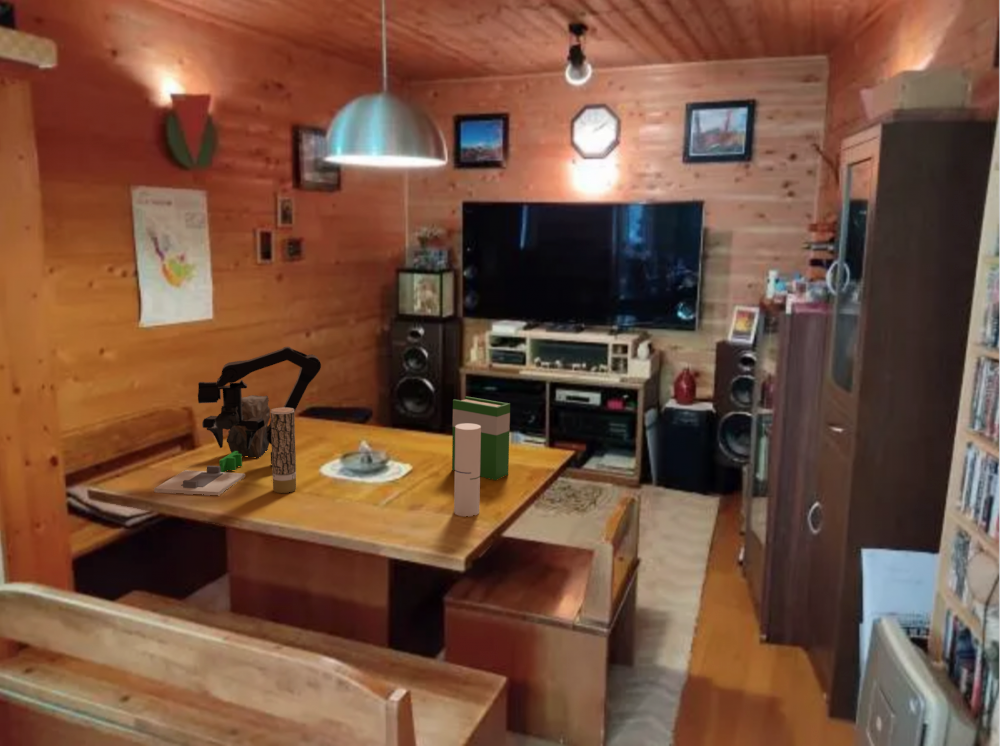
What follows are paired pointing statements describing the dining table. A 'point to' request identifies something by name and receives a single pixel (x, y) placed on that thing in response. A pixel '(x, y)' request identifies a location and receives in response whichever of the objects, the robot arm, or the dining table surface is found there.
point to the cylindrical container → (467, 469)
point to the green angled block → (231, 461)
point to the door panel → (200, 482)
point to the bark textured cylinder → (283, 449)
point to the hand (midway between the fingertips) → (234, 448)
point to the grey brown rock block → (237, 434)
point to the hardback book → (486, 433)
